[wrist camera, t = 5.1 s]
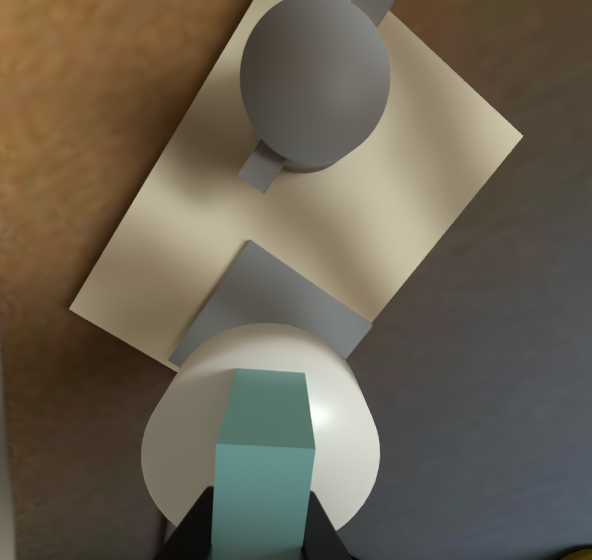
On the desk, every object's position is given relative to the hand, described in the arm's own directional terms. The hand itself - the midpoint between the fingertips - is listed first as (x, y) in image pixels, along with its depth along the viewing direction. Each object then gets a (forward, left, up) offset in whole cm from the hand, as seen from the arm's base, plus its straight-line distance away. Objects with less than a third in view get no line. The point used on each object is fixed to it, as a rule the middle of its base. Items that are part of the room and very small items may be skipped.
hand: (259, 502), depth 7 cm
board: (+5, +3, -10) cm, 11 cm away
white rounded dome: (0, 0, -3) cm, 3 cm away
